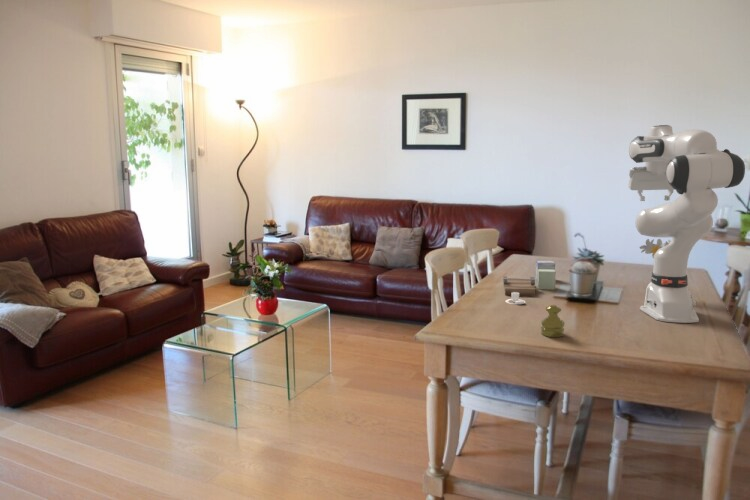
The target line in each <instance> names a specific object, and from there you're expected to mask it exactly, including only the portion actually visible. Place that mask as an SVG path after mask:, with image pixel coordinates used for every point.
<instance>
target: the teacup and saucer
mask: <svg viewBox="0 0 750 500" xmlns="http://www.w3.org/2000/svg"><path fill="white" fill-rule="evenodd" d="M510 296H511V298H508V299H506V300H505V301H504V302H505V303H506V304H509V305H514V304H515V305H523V304H526V301H525V300H524V299H520V296H519V293H518V292H512V293H511V295H510ZM509 301H511V302H509Z"/></svg>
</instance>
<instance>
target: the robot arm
mask: <svg viewBox="0 0 750 500" xmlns="http://www.w3.org/2000/svg"><path fill="white" fill-rule="evenodd" d="M717 145H718V143H717V139H716V138H715V136H714V135H713V134H712V133H711V132H709V131H707V130H703V129H689V130H684V131H681V132H677V133H673V127H672V126H671V125H669V124H663V125H662V124H660V125H653V126H652V127H650V128H649V132H648V135H647V136H645V135H641V136H640V135H638V136H636V137H634V138H633V139H632V140H631V142H630V143H629V148H628V153H629V158H630V159H631V160H633V162H634V163H636V164H638V163H645V166H635V167H632V168H631V169H629V174H628V175H629V181H628V188H629V190H631V191H637V194H638V196H639V201H640V202H645V200H646V197H645V195H643V192H644V191H662V190H664V191H665V190H667V191H668V193H667V195H664V198H663V199H664V201H669V202H667V203H664V204H660V205H658V206H653V207H650V208H644V209H642V210H640V211H638V214H637V215H636V217H635V228H636V229H637V231H638V233H639V234H640V235H641V236H646V237H652V238H671V240H670V241H671V242H670V243H669V242H668V243H669V244H668V245H666V246H664V247H662V248H660V249H658V250H657V251H656V253H655V255H654V258H653V270H652V272H651V275H650V278H651V279H650V283H651V282H652V283H651V285H650V286H649V287H647V286H646V289H645V298H644V305H640V307H639V310H641V311H642V312H644V313H645V314H647V315H648V316H650V317H651V318H653V319H655V320H656V321H660V322H667V323H678V324H679V323H683V324H687V323H688V324H689V323H690V324H692V323H699V320H700V319H699V316H698V314H697V312H696V310H695V308H693V307H696V306H697V301H696V299H692V298H693V294H691V293H690V289H689V288H688V285H689V283H688V281H689V279H688V275H687V271H688V263H689V262H688V261H689V257H690V255H691V254H690V253H691V251H692V249H693V247H695V245H696V244H697V243H698V242H699V241H700V240H701V239H702V238H704V237H705V236H707V235H708V234H709V233H710V232H711V230H712V229H713V226H714V219H713V216H712V214H713V213H714V211H715V210H716V209H717V206H718V204H719V203H718V202H719V199H718V195H717V194H716V192H715V191H714V190H713V189H722V188H725V189H728V188H729V189H730V188H733V187H736V186H739V185H740V184H741V182H742V181H743V180H744V177H745V174H746V164H745V161H744V160H743V159H742V158H741V157H740V155H738V154H735V153H732V152H731V151H730V150H729V149H727V148H725V149H723V150H719V149H718V146H717ZM674 190H675V191H676V192H677V194H678V195H680V196H678V197H677V198H675V200H672V201H670V200H671V196H672V195H673V193H674Z"/></svg>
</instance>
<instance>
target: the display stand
mask: <svg viewBox="0 0 750 500" xmlns="http://www.w3.org/2000/svg"><path fill="white" fill-rule="evenodd" d="M502 278H503V279H502V280H503V281H502V282H503V288H504V295H505V296H511V293H512V292H518V293H519V297H523V296H524V297H535V296H536V288H535V285H536V277H535V276H530V278H508V276H507V275H504V276H503V277H502Z"/></svg>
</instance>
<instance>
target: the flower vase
mask: <svg viewBox="0 0 750 500" xmlns="http://www.w3.org/2000/svg"><path fill="white" fill-rule="evenodd" d="M654 241H655V238H654V239H651V241H650V239H649V238H646V241H645V244H644V245H643V244H642V245H641V246H639V249H640V250H641V254H642V253H644V252H645V254H646V255H651V254H652V255H651V257H652V258H653V259H654V255H655V253H656V251H657V250H658V249H660V248H662V247H664V246H666V245H668V244H669V243H670V242H671V240H670V239H668V240H667V241H665V243H663V241H662V239H661V238H658V239H657V240H656V243H654ZM651 283H652V282H651V281H650V282H649V283H648V285H647V286H646V288H647V287H649V286H650V285H651Z"/></svg>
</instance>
